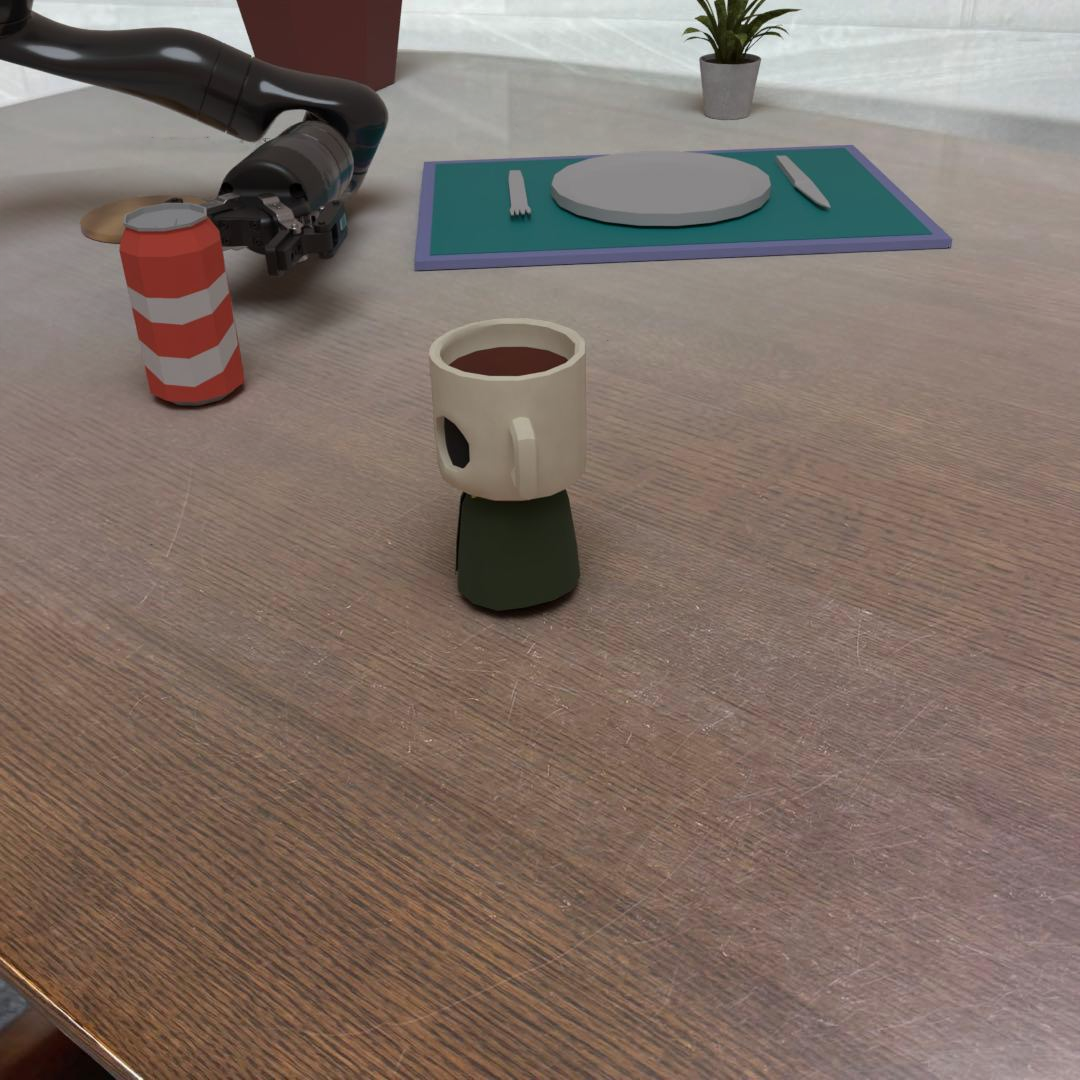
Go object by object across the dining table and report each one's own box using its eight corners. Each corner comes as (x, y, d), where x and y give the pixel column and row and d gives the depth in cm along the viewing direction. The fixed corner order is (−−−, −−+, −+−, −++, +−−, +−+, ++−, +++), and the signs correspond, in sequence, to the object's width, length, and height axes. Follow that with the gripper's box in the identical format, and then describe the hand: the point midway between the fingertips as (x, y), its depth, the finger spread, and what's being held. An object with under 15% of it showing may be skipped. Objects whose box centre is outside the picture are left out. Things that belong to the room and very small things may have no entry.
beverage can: (151, 417, 78) (111, 235, 71) (154, 377, 83) (117, 204, 77) (246, 405, 79) (215, 225, 72) (244, 366, 84) (214, 195, 78)
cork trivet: (76, 249, 106) (74, 240, 106) (87, 209, 116) (86, 201, 116) (214, 236, 108) (213, 227, 108) (214, 198, 118) (213, 190, 118)
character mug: (438, 535, 65) (418, 308, 58) (567, 522, 66) (564, 296, 59) (458, 659, 56) (439, 407, 49) (609, 641, 57) (610, 391, 50)
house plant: (697, 137, 133) (705, -24, 124) (638, 111, 144) (641, -39, 135) (805, 121, 138) (820, -35, 129) (740, 97, 148) (750, -49, 140)
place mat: (415, 270, 100) (413, 243, 98) (424, 169, 125) (422, 146, 124) (951, 247, 101) (955, 221, 100) (851, 152, 127) (854, 129, 125)
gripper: (375, 240, 97) (318, 317, 83) (205, 237, 98) (122, 311, 85) (365, 145, 93) (304, 209, 79) (188, 143, 94) (99, 206, 81)
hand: (210, 262), depth 82 cm, fingers open, 8 cm apart
